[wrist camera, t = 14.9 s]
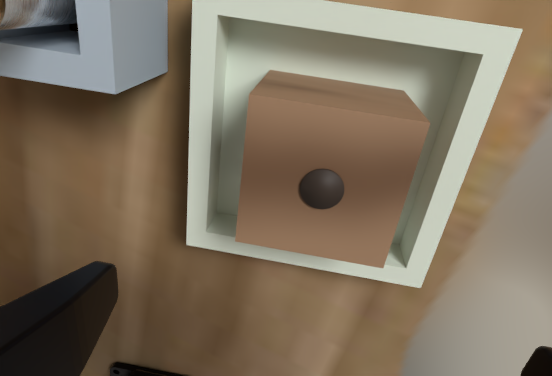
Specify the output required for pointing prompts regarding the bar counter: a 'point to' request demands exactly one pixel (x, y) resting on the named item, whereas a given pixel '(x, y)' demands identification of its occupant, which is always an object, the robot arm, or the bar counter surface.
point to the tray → (351, 68)
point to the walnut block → (327, 166)
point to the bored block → (92, 47)
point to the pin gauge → (36, 13)
